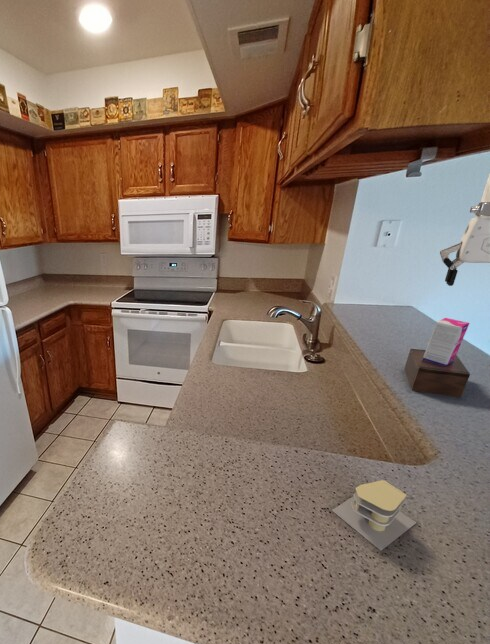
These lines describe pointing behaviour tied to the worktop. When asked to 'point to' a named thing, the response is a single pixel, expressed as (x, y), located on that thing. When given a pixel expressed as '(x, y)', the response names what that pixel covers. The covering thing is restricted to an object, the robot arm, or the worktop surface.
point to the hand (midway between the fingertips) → (473, 285)
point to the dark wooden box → (435, 375)
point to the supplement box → (445, 341)
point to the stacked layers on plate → (376, 513)
